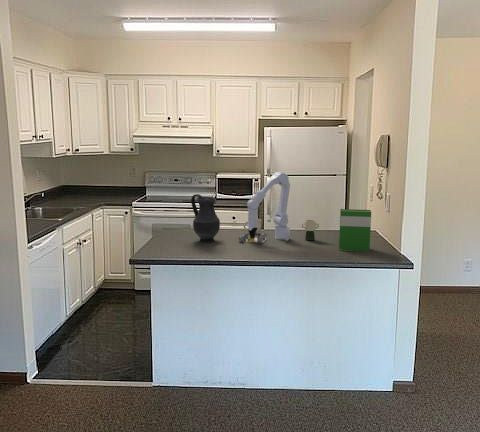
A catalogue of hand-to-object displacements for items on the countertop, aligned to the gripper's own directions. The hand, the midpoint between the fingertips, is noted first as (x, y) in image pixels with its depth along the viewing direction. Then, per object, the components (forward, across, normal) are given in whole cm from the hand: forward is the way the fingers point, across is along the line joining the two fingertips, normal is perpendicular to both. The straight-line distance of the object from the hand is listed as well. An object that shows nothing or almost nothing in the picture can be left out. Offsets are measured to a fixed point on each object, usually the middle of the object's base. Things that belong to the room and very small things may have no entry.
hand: (252, 239), depth 321 cm
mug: (+2, -24, -6) cm, 25 cm away
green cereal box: (+2, +3, +64) cm, 64 cm away
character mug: (+2, -15, +35) cm, 38 cm away
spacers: (+2, 0, 0) cm, 2 cm away
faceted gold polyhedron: (+1, +3, 0) cm, 3 cm away
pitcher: (+2, +5, -31) cm, 31 cm away
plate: (+2, 0, 0) cm, 2 cm away
